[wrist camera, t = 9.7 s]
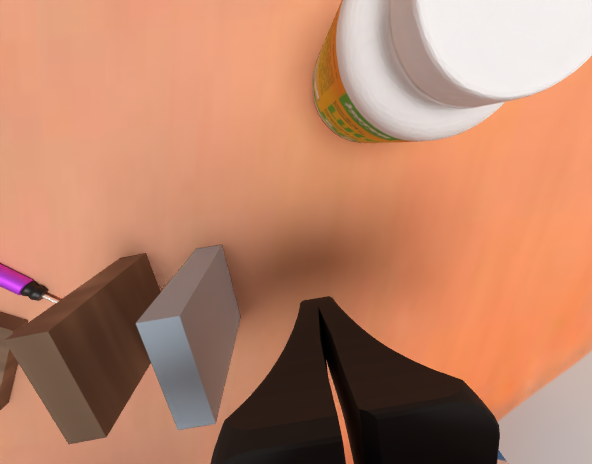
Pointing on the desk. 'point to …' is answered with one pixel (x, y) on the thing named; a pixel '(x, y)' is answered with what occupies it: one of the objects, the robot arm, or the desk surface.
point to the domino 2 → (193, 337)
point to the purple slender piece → (22, 285)
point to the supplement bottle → (441, 63)
